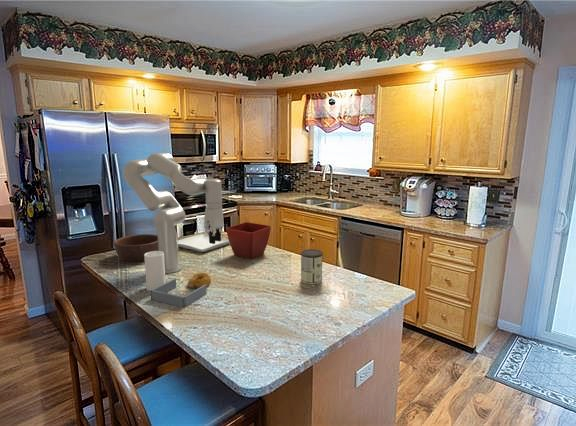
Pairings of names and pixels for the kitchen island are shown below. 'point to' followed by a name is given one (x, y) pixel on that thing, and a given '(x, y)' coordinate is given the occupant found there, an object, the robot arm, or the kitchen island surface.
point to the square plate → (201, 243)
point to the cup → (154, 269)
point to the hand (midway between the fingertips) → (215, 241)
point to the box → (162, 296)
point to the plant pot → (248, 239)
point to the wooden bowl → (135, 247)
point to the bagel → (199, 280)
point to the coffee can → (311, 266)
